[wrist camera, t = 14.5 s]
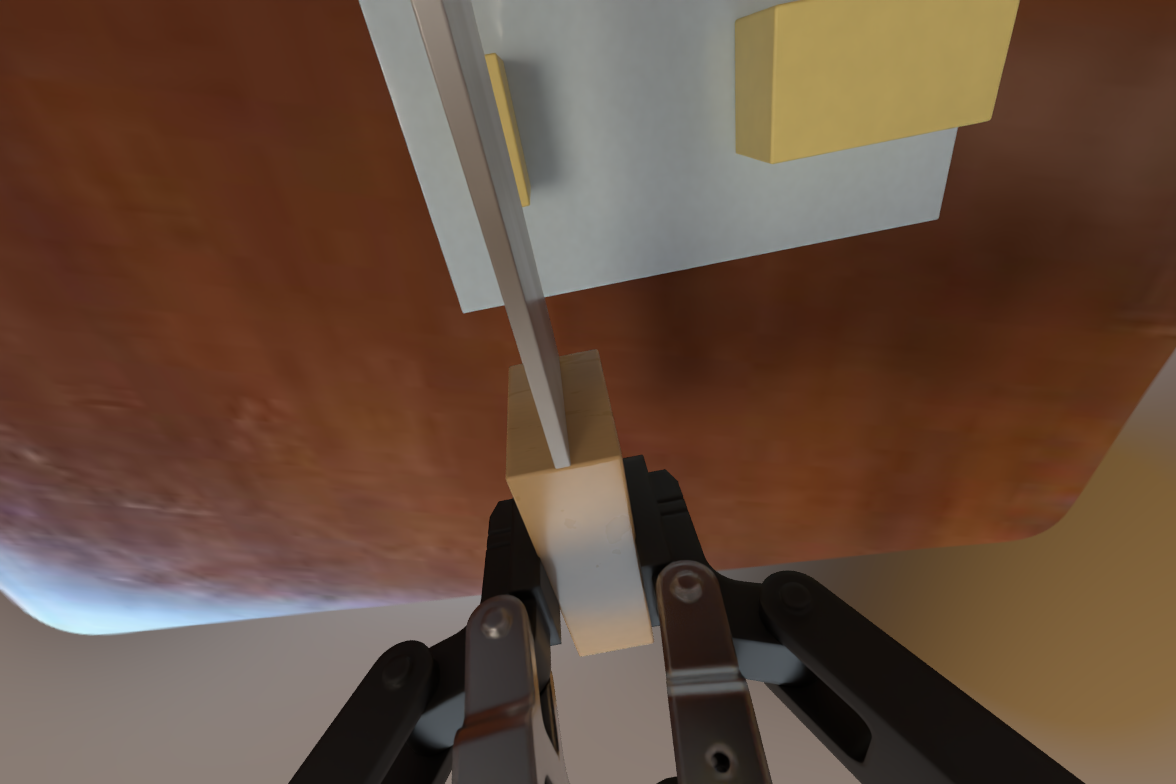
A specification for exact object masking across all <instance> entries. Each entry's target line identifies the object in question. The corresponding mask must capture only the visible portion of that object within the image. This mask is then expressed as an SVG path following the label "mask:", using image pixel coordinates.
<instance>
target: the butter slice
mask: <svg viewBox="0 0 1176 784" xmlns="http://www.w3.org/2000/svg"><path fill="white" fill-rule="evenodd" d="M485 59H486V64H487V68H488V72H489V76H490V80H491V84H492V88H493V92H494V96H495V100H496V104H497V108H498V112H499V116H500V120H501V124H502V128H503V132H504V136H505V140H506V144H507V148H508V152H509V156H510V160H511V165H512V169H513V173H514V177H515V181H516V185H517V189H518V193H519V197H520V201H521V205H522V207H526V206H529V205H530V197H531V185H530V181H529V176H528V171H527V167H526V162H525V158H524V153H523V149H522V144H521V140H520V135H519V131H518V126H517V122H516V117H515V112H514V108H513V103H512V99H511V94H510V90H509V85H508V81H507V76H506V72H505V67H504V63H503V60H502V59H501V58H500V57H499V56H498V55H497V54H496V53H490V54H485Z"/></svg>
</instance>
